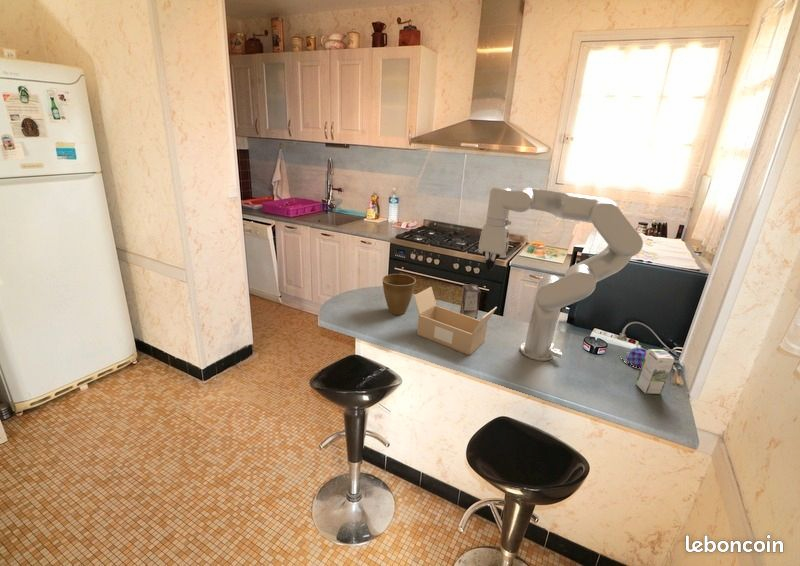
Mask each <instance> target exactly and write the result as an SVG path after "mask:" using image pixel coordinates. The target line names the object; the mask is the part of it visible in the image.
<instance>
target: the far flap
mask: <svg viewBox="0 0 800 566" xmlns="http://www.w3.org/2000/svg"><path fill="white" fill-rule="evenodd" d="M413 299H414V302H415V304H416V309H417V313H418V315H420V314H421V313H423V312H425V311H426V310H428V309H430V308H431V307H433V306H435V305H436V306H437V302H436V297H435V295H434V291H433V287H432V286H430V287H427V288H425V289H423V290H422V291H419V292H418V293H416V294H414V295H413Z"/></svg>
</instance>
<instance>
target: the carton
mask: <svg viewBox="0 0 800 566" xmlns="http://www.w3.org/2000/svg"><path fill="white" fill-rule="evenodd" d="M417 317H418V319H417V330H416V331H417V332H416V335H417V336H419V337H421V338H424V339H426V340H430V341H432V342H433V343H437V344H438V345H442V346H444V347H447V348H449V349H452V350H454V351H456V352H459V353H462V354H464V355H467V356H471V355H473V353H475V351H477V350H478V349H480V347H481V346H482V345H484V343H485V340H486V334H487V326H488V322H487V323H485V324H484V325H483V326H482V327H481V328H479V329H478V330H477V331H476V332H475V333H473V334H472V332H473V331H474V329H475V328H476V326H477V325H478V323H479V322H480V320H481V319H478V318H477V319H475V318H472V317H469V316H466V315H463V314H460V312H457V311H454V310H451V309H448V308H446V307H442V306H440V305H437V304H436V305H435V306H433V307H431V308H430V309H428V310H426V311H425V312H423V313H421V314H418V316H417Z"/></svg>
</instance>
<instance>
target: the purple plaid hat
mask: <svg viewBox="0 0 800 566" xmlns="http://www.w3.org/2000/svg"><path fill="white" fill-rule="evenodd" d="M647 350H648V349H644V348H642V347H633V348H632V349H631V350H630V351H629V352H628V353H629V354H628V356H627V359H626V360H628V361H629V362H631V363H632V364H633V366H632V367H633V368H636V369H639V370H640V369H641V368H640V367H642V364H643V361H644V358H645V355H646V353H647ZM620 359H621V360H622V358H621V357H620ZM623 362H624V363H626V362H625V361H623ZM629 362H628V363H629ZM626 364H627V363H626ZM632 364H631V365H632ZM634 365H635V366H636V367H634ZM637 366H638V367H639V368H637Z"/></svg>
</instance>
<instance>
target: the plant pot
mask: <svg viewBox="0 0 800 566" xmlns="http://www.w3.org/2000/svg"><path fill="white" fill-rule="evenodd" d="M381 282H382V287H383V294H384V297H385V301H386V302H385V303H386V305H387V308H388V312H389V313H390V314H391V313H392V314H391V315H394V314H395V316H402V315H404V314H406V312H407V310H408V308H409V305H410V303H411V300H412V298H413V296H414V295H413V294H414V291H415V290H414V289H415V287H416V282H417V280H416V277H413V276H411V275H408V274H403V273H392V274H391V273H390V274H387V275H384V276H383V277H382V281H381Z"/></svg>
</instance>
